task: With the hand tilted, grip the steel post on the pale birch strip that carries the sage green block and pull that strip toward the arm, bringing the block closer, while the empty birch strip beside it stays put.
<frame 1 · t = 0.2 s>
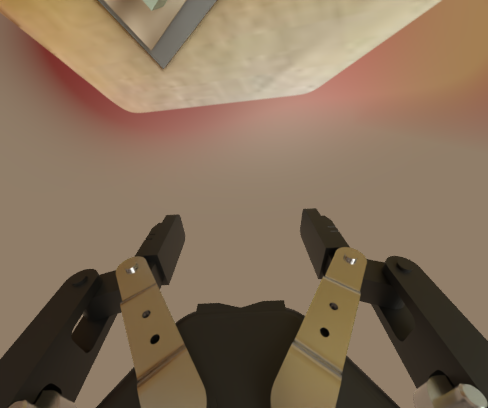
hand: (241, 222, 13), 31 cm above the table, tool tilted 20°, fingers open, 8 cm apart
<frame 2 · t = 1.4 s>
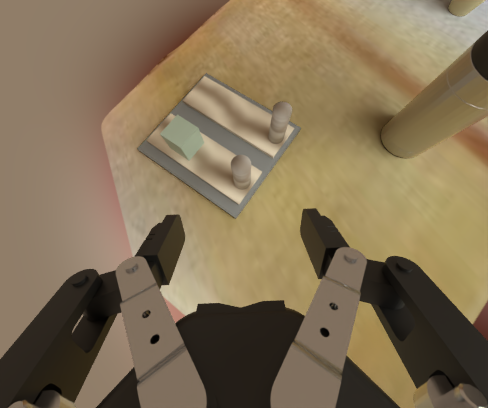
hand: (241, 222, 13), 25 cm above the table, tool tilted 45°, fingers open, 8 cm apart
lane board: (219, 140, 42), on the table
mug: (453, 10, 50), on the table
block strip: (198, 146, 36), point 5 cm above the table, slide at 0.0 cm, touching sage block
empty strip: (235, 101, 38), point 5 cm above the table, slide at 0.0 cm
sage block: (187, 145, 40), point 2 cm above the table, touching block strip
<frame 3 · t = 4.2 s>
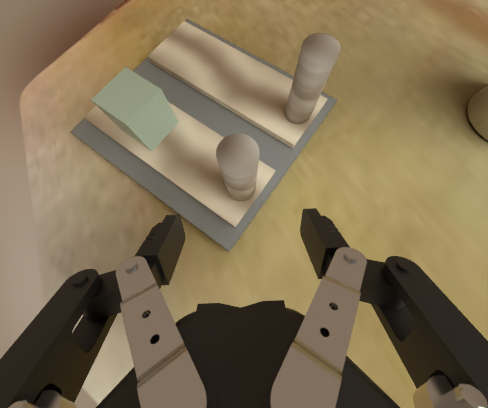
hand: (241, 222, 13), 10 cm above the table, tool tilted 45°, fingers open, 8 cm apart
lane board: (205, 119, 26), on the table
block strip: (162, 123, 20), point 5 cm above the table, slide at 0.0 cm, touching sage block
empty strip: (231, 49, 22), point 5 cm above the table, slide at 0.0 cm
sage block: (150, 126, 24), point 2 cm above the table, touching block strip
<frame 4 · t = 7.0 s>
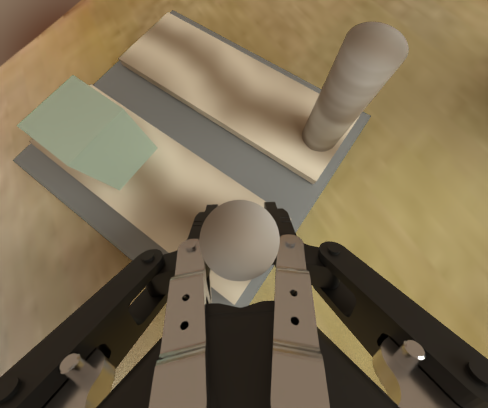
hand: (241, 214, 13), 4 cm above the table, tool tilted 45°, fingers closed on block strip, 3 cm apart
lane board: (195, 142, 20), on the table
block strip: (126, 158, 13), point 5 cm above the table, slide at 0.0 cm, touching gripper, sage block
empty strip: (228, 48, 16), point 5 cm above the table, slide at 0.0 cm
sage block: (119, 154, 18), point 2 cm above the table, touching block strip
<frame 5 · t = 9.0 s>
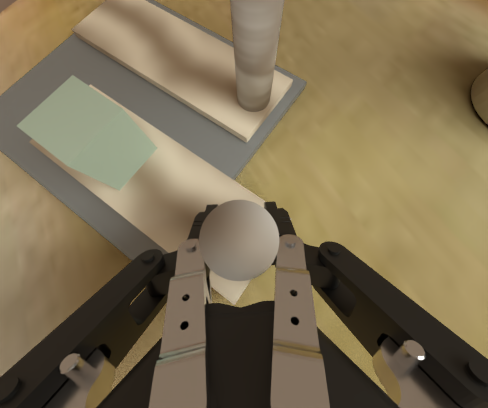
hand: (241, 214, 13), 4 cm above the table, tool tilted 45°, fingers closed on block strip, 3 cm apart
lane board: (142, 108, 21), on the table
block strip: (126, 158, 13), point 5 cm above the table, slide at 7.4 cm, touching gripper, sage block
empty strip: (160, 11, 17), point 5 cm above the table, slide at 0.0 cm
sage block: (119, 154, 18), point 2 cm above the table, touching block strip
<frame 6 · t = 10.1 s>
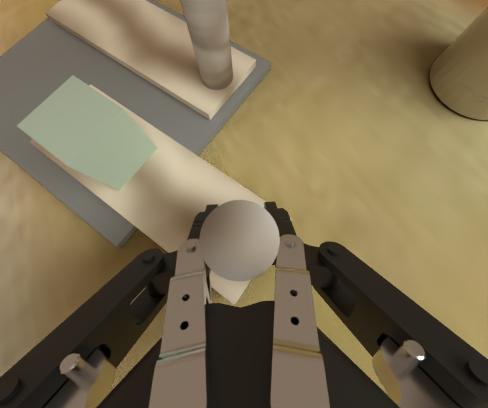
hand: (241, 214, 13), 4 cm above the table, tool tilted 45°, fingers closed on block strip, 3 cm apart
lane board: (113, 88, 21), on the table
block strip: (126, 158, 13), point 5 cm above the table, slide at 11.8 cm, touching gripper, sage block
sage block: (119, 154, 18), point 2 cm above the table, touching block strip
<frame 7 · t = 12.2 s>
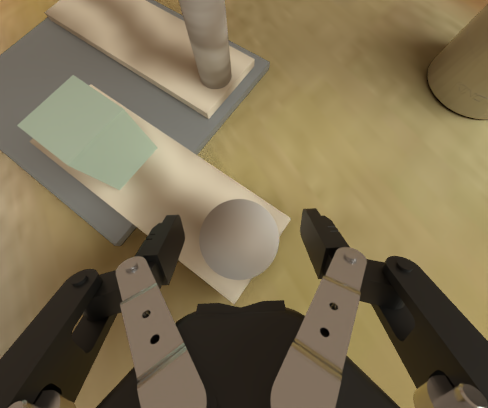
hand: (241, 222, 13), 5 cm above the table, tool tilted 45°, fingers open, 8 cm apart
lane board: (112, 87, 22), on the table
block strip: (126, 158, 14), point 5 cm above the table, slide at 12.0 cm, touching sage block
sage block: (119, 154, 18), point 2 cm above the table, touching block strip
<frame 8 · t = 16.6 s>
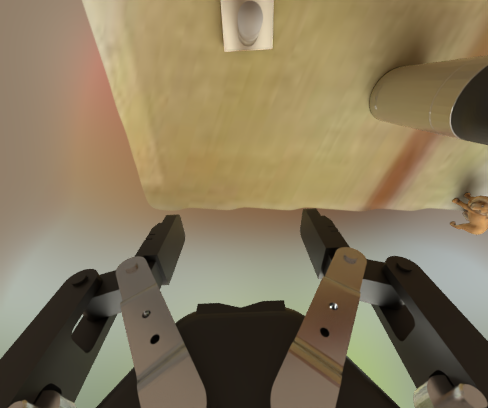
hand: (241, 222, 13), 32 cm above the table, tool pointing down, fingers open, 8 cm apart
lion figurine: (456, 205, 51), on the table
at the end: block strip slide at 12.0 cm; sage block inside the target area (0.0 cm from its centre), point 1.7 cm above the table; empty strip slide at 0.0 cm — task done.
